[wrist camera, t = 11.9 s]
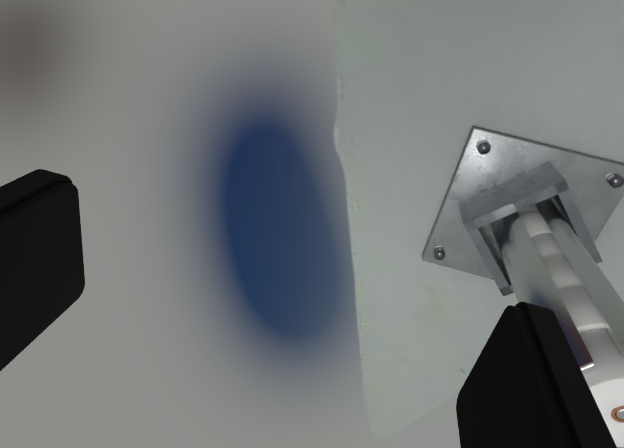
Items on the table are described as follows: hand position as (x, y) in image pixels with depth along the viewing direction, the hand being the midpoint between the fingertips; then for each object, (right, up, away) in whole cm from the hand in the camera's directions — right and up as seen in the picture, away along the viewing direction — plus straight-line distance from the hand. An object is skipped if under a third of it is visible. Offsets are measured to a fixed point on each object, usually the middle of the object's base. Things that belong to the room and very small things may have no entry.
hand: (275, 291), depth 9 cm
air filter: (+23, +2, +37) cm, 44 cm away
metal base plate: (+23, +2, +38) cm, 44 cm away
